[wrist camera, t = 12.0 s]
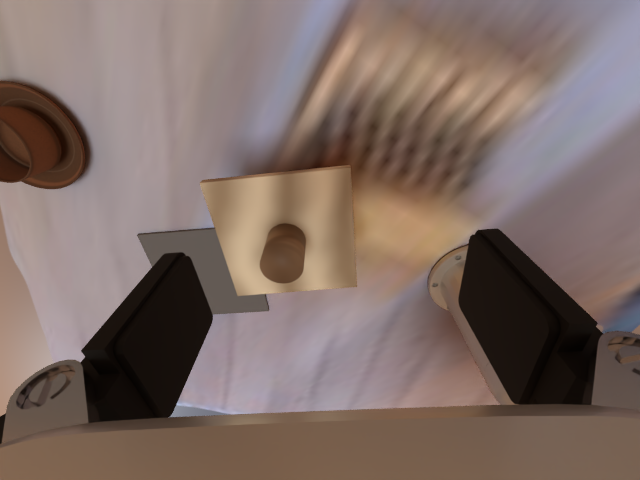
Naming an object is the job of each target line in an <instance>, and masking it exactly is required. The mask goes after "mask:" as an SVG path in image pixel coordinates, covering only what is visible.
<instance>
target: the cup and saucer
mask: <svg viewBox="0 0 640 480" xmlns="http://www.w3.org/2000/svg"><path fill="white" fill-rule="evenodd" d="M84 164H85V152H84V147H83V143H82V140H81V138H80V136H79V134H78V132H77V130H76V128H75V126H74V125H73V123H72V122H71V121H70V119H69V118H68V117H67V116H66V114H65V113H64V112H63V111H62V110H61V109H60V108H59V107H58V106H57V105H56V104H54V103H53V102H52V101H51V100H50V99H48V98H47V97H45V96H44V95H42V94H41V93H39V92H37V91H35V90H33V89H31V88H29V87H27V86H24V85H21V84H17V83H13V82H8V81H0V181H1V182H7V183H14V182H19V181H22V182H24V183H26V184H29V185H31V186H35V187H38V188H44V189H59V188H63V187H66V186H68V185H70V184H72V183H73V182H75V181H76V180H77V179H78V177H79V176H80V175H81V173H82V171H83V168H84Z"/></svg>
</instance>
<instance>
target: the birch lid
mask: <svg viewBox="0 0 640 480" xmlns="http://www.w3.org/2000/svg"><path fill="white" fill-rule="evenodd" d="M200 185H201V188H202V191H203V194H204V197H205V200H206V203H207V206H208V209H209V212H210V215H211V218H212V221H213V224H214V227H215V230H216V233H217V236H218V239H219V242H220V245H221V248H222V251H223V254H224V257H225V260H226V263H227V266H228V269H229V272H230V275H231V278H232V281H233V284H234V287H235V290H236V292H237V295H238V296H244V295H257V294H270V293H283V292H295V291H308V290H321V289H334V288H346V287H357V276H356V257H355V237H354V218H353V199H352V180H351V166H350V165H345V166H335V167H325V168H315V169H306V170H296V171H286V172H276V173H267V174H257V175H247V176H237V177H228V178H218V179H208V180H202V181H201V182H200Z"/></svg>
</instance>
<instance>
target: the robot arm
mask: <svg viewBox="0 0 640 480" xmlns="http://www.w3.org/2000/svg"><path fill="white" fill-rule="evenodd" d="M428 290H429V293H430V295H431V297H432V299H433V301H434V302H435V303H436V304H437V305H438V306H440V307H441V308H443V309H445V310H447V311H450V312H451V314H452V316H453V318H454V320H455V322H456V324H457V326H458V328H459V330H460V332H461V334H462V336H463V338H464V340H465V342H466V344H467V346H468V348H469V350H470V352H471V354H472V356H473V358H474V360H475V362H476V364H477V366H478V368H479V370H480V372H481V374H482V376H483V378H484V380H485V381H486V383H487V385H488V387H489V389H490V391H491V393H492V394H493V396H494V397H495V399H496V400H497V401H498V402H499V403H500V404H501V405H480V406H450V407H420V408H390V409H362V410H336V411H310V412H284V413H259V414H237V415H214V416H191V417H170V416H171V414H172V413H173V411H174V408H175V406H176V404H177V402H178V399H179V397H180V395H181V392H182V390H183V388H184V386H185V383H186V381H187V379H188V376H189V374H190V372H191V370H192V367H193V365H194V363H195V360H196V358H197V356H198V354H199V351H200V349H201V347H202V344H203V342H204V340H205V338H206V335H207V333H208V331H209V328H210V326H211V324H212V320H213V315H212V311H211V309H210V306H209V304H208V301H207V298H206V296H205V293H204V291H203V288H202V285H201V283H200V280H199V278H198V275H197V272H196V270H195V267H194V265H193V262H192V260H191V258H190V257H189V256H186V255H185V254H184V253H183V252H176V253H165V254H163V255H162V256H161V258H160V259H159V260H158V261H157V262H156V263H155V265H154V266H153V267H152V268H151V269H150V270H149V272H148V273H147V274H146V275H145V276H144V278H143V279H142V280H141V281H140V282H139V283H138V285H137V286H136V287H135V288H134V289H133V290H132V292H131V293H130V294H129V295H128V296H127V298H126V299H125V300H124V301H123V302H122V303H121V305H120V306H119V307H118V308H117V309H116V310H115V312H114V313H113V314H112V315H111V316H110V317H109V319H108V320H107V321H106V322H105V323H104V325H103V326H102V327H101V328H100V329H99V330H98V332H97V333H96V334H95V335H94V336H93V337H92V339H91V340H90V341H89V342H88V343H87V345H86V346H85V347H84V348H83V349H82V350H81V351H82V353H83V354H84V355H85V358H84V359H83V360H82V362H81V363H80V362H78V361H76V360H64V361H59V362H56V363H54V364H51V365H49V366H47V367H45V368H43V369H41V370H40V371H38V372H36V373H35V374H33V375H32V376H31V377H29V378H28V379H27V380H25V382H23V383H22V384H21V386H19V387H18V388H17V389H16V391H15V392H14V393H13V395H12V396H11V397H10V400H9V402H8V405H7V410H6V414H4V415H2V416H1V417H0V480H640V335H638V334H634V333H631V332H623V331H613V332H607V333H605V334H603V333H602V332H601V331H600V330H599V329H598V328H597V327H596V325H597V322H596V321H595V320H594V319H593V318H592V317H591V316H590V315H589V314H588V313H587V312H586V311H585V310H584V309H583V308H581V307H580V306H579V305H578V304H577V303H576V302H575V301H574V300H573V299H572V298H571V297H570V296H569V295H568V294H567V293H566V292H565V291H564V290H563V289H561V288H560V287H559V286H558V285H557V284H556V283H555V282H554V281H553V280H552V279H551V278H550V277H549V276H548V275H547V274H546V273H545V272H544V271H543V270H541V269H540V268H539V267H538V266H537V265H536V264H535V263H534V262H533V261H532V260H531V259H530V258H529V257H528V256H527V255H526V254H525V253H524V252H523V251H521V250H520V249H519V248H518V247H517V246H516V245H515V244H514V243H513V242H512V241H511V240H510V239H509V238H508V237H507V236H506V235H505V234H504V233H502V232H501V231H500V230H499V229H486V230H478V231H477V232H476V233H475V235H471V237H470V239H469V244H468V246H464V247H461V248H459V249H456V250H454V251H452V252H450V253H449V254H447V255H446V256H444V257H443V258H442V259H441V260H440V261H439V262H438V263H437V264H436V265H435V266H434V268H433V269H432V271H431V273H430V276H429V279H428ZM168 417H169V418H168Z"/></svg>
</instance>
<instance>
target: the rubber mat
mask: <svg viewBox="0 0 640 480" xmlns="http://www.w3.org/2000/svg"><path fill="white" fill-rule="evenodd" d="M137 236H138V238H139V240H140V242H141V244H142V246H143V248H144V251H145V253H146V255H147V257H148V259H149V261H150V263H151V265H152V267H153V266H154V265H155V263H156V262H157V261H158V260H159V259H160V258H161V256H162V255H163V254H165V253H176V252H183V253H184V254H185V255H186V256H189V257H190V258H191V260H192V262H193V265H194V267H195V270H196V272H197V275H198V278H199V280H200V283H201V285H202V288H203V291H204V293H205V296H206V298H207V301H208V304H209V306H210V309H211V311H212V314H227V313H244V312H260V311H269V307H268V303H267V299H266V295H265V294H257V295H244V296H238V295H237V292H236V290H235V287H234V284H233V281H232V278H231V275H230V272H229V269H228V266H227V263H226V260H225V257H224V254H223V251H222V248H221V245H220V242H219V239H218V236H217V233H216V230H215V228H206V229H193V230H181V231H168V232H155V233H143V234H138V235H137Z"/></svg>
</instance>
